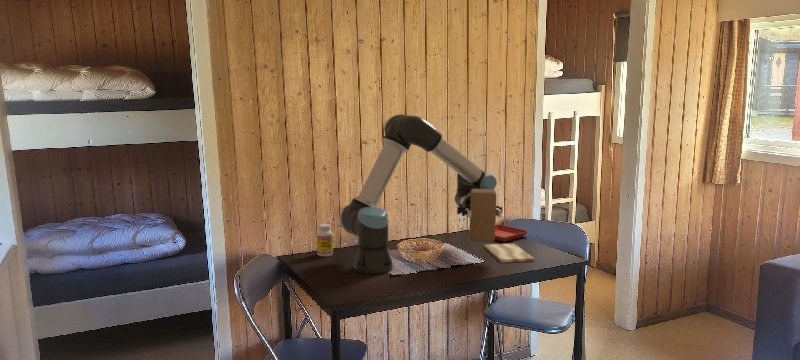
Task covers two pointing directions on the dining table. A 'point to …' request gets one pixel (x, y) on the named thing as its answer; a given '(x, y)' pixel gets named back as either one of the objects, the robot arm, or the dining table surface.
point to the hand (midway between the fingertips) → (485, 214)
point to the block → (482, 215)
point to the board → (508, 253)
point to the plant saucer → (508, 233)
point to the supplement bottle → (324, 240)
